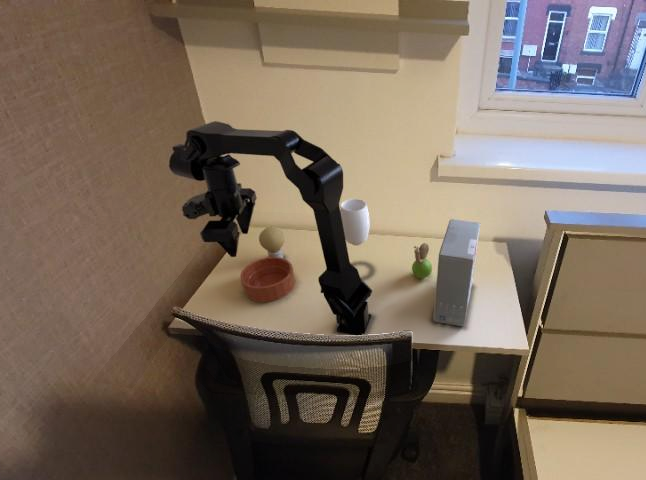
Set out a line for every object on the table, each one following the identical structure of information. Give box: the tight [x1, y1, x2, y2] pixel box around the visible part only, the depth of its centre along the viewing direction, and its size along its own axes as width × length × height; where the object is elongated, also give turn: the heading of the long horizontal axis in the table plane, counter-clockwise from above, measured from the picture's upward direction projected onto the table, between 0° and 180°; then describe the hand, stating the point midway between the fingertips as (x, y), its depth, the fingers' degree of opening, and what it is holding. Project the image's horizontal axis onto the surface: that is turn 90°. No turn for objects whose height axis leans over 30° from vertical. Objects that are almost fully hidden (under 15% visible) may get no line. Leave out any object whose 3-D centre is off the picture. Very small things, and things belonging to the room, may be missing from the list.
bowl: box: [239, 256, 296, 303], centre depth 100 cm, size 12×12×5 cm
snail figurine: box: [411, 242, 433, 279], centre depth 104 cm, size 5×6×12 cm
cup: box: [340, 198, 371, 246], centre depth 102 cm, size 7×7×21 cm
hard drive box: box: [433, 218, 481, 327], centre depth 94 cm, size 16×8×20 cm, turn 168°
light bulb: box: [258, 226, 286, 259], centre depth 108 cm, size 6×6×10 cm
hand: (239, 244), depth 92 cm, fingers open, 9 cm apart
